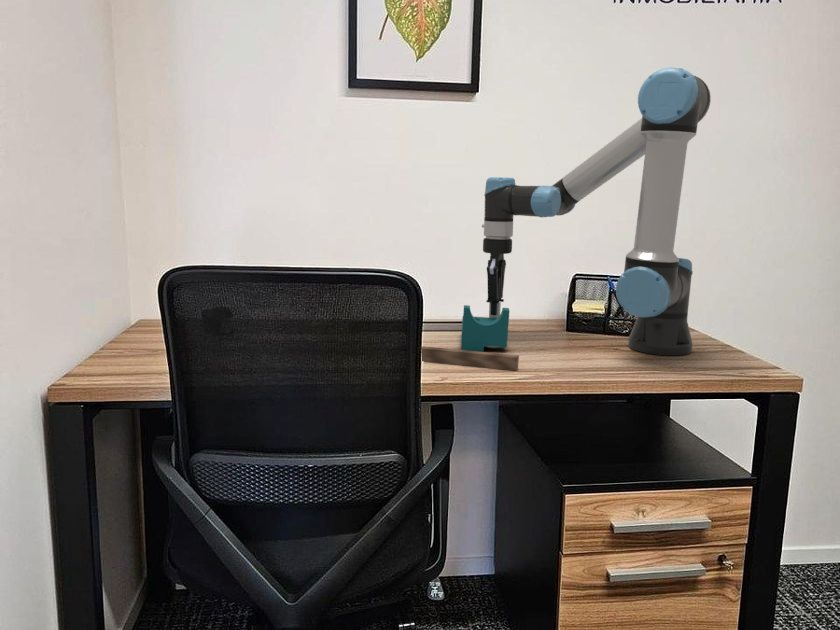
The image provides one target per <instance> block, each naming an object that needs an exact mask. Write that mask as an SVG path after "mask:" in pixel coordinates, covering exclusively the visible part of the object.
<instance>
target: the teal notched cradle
mask: <svg viewBox="0 0 840 630" xmlns="http://www.w3.org/2000/svg"><path fill="white" fill-rule="evenodd" d="M461 318H462V319H461V333H460V334H461V335H460V337H461V339H460V340H461V342H460V343H461V344H460V350H467V351H478V352H485V351H484V350H485V347H491V348H492V347H493V348H494V347H495V348H507V347H508V333H509V324H510V322H509V320H510V308H509V307H502V308H501V311H500V316H499V317H498V318H489V316H488V317H485V316H483V317H482V316H474V315H473V314H472V311H471V305H469V304H468V305H467V304H466V305H465V304H464V305H463V313H462V317H461Z"/></svg>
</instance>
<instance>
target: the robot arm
mask: <svg viewBox="0 0 840 630" xmlns="http://www.w3.org/2000/svg"><path fill="white" fill-rule="evenodd" d="M637 104H638V109H639V112H640V115H642V117H641V118H640V119H639V120H637V121H636V122H635V123H633V124H632V125H631V126H630V127H628V128H627V129H626V130H624V131H623V132H622V133H621V134H618V135H617V136H616V137H615V138H613V139H612V140H610V142H608V143H607V144H605V145H604V146H603V147H602V148H600V149H599V150H598V151H596V152H595V153H593V154H592V155H591V156H590V157H588V158H587V159H586V160H584V161H583V162H582V163H580V164H579V165H578V166H576V167H575V168H574V169H572V170H570V172H568V173H567V174H565V175H564V176H563V177H562V178H561V179H559V180H558V181H556V182H555V183H554V184H552V185H517V184H516V180H515V178H513V177H501V176H500V177H499V176H498V177H497V176H495V177H494V176H492V177H488V178H487V179H486V181H485V191H484V218H483V220H484V221H483V223H482V225H481V228H482V229H483V236H484V238H483V240H482V242H483V243H482V252H483V253H485V254H490V256H489V259H488V260H487V266H486V275H487V299H486V303H489V307H488V308H489V310H488V318H498V317H499V316H500V314H501V309H502V308H501V305H502V302H503V303H504V301H505V299H503V297H504V283H505V273H506V267H507V266H506V265H507V263H506V262H507V261H506V259H505V256H504V255H507V254H512V252H513V240H512V237H513V234H514V216H521V217H522V216H523V217H524V216H525V217H538V218H552V217H555V216H564V215H566V214H569V213H570V212H572V211H573V210H574V208H575V207H576V204H578V203H579V202H581V201H582V200H583V199H585V198H586V197H587V196H588V195H590V194H592V193H593V192H594V191H595V190H598V188H600V187H601V186H602V185H604V184H606V183H607V182H608V181H610V180H611V179H612V178H614V177H615V176H617V175H618V174H619V173H621V172H622V171H624V170H625V169H626V168H628V167H629V166H631V165H632V164H633V163H635V162H637V160H639V159H641V158H642V157H643V156H644V160H643V167H642V168H643V170H642V178H641V185H640V191H639V192H640V194H639V201H638V203H639V204H638V211H637V218H636V227H635V236H634V243H633V248H632V250H630V251H629V252H628V253H626V255H625V260H624V261H625V262H624V271H623V273H621V275H620V276H619V278H618V280H617V283H616V286H615V295H616V299H617V301H618V304H619V305H620V306H621V307H622V308H623V310H624V311H625V312H626V313H628V314H630V315H631V316H634V317H637V318H636V319H635V323H634V325H633V327H632V329H631V332H630V334H629V336H628V342H627V343H628V344H627V345H628V348H630V349H632V350H634V351H635V352H641V353H645V354H651V355H657V356H684V355H685V356H686V355H689V354H691V353H692V351H693V340H692V335H691V332H690V328H689V327H690V326H689V323H688V316H689V315H688V313H689V305H690V295H691V284H692V276H693V262H692V261H691V260H690V259H689V258H683V257H678V256H677V255H676V254H675V252H674V249H675V240H676V234H677V225H678V219H679V217H678V216H679V210H680V202H681V194H682V187H683V179H684V174H685V173H684V172H685V166H686V157H687V151H688V143H689V142H690V141H691V140H692V139H693V138H694V137H696V136H697V131H698V123H700V122H701V121H702V120H703V119H704V118H705V116H706V115H707V113H708V112H709V109H710V105H711V92H710V89H709V87H708V85H707V84H706V82H705V81H704V80H703V79H701V78H700V77H698V76H696V75H694V74H692V73H691V72H690V71H689V70H687V69H684V68H678V67H674V66H673V67H671V66H670V67H664V68H660V69H659V70H656V71H654V72H653V73H652V74H651V75H648V77H647V78H646V79H645V80H644V82H643V83H642V85H641V86H640V88H639V91H638V94H637Z"/></svg>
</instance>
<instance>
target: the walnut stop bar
mask: <svg viewBox="0 0 840 630" xmlns="http://www.w3.org/2000/svg"><path fill="white" fill-rule="evenodd" d="M421 347H422V361H421V362H424V363H425V362H427V363H435V364H444V365H445V364H446V365H455V366H465V367H475V368H483V369H485V368H486V369H492V370H493V369H495V370H504V371H514V372H518V370H519V360H520V356H519V355H517V354H507V353H497V352H486V351H484V352H478V351H467V350H461V349H455V348H443V347H433V346H424V345H423V346H421Z"/></svg>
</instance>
